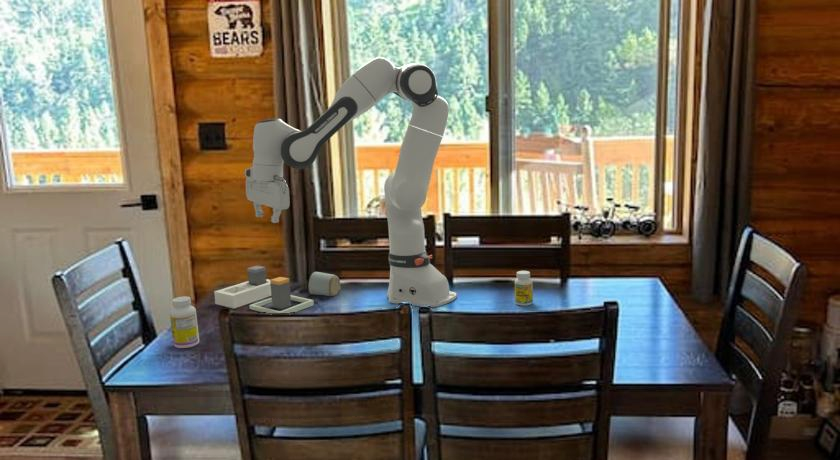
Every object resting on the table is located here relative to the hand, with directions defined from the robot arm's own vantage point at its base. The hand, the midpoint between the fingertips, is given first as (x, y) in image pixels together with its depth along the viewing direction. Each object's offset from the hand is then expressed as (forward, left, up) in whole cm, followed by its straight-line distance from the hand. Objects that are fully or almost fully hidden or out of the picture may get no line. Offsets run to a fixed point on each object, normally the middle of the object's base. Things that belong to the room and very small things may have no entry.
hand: (267, 219), depth 216 cm
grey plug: (-3, 0, -27) cm, 27 cm away
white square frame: (-3, 0, -28) cm, 28 cm away
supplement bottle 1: (-3, +34, -28) cm, 44 cm away
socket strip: (+13, 0, -28) cm, 31 cm away
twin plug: (+13, -5, -27) cm, 30 cm away
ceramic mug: (-4, -19, -28) cm, 34 cm away
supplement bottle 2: (-63, -42, -28) cm, 81 cm away
